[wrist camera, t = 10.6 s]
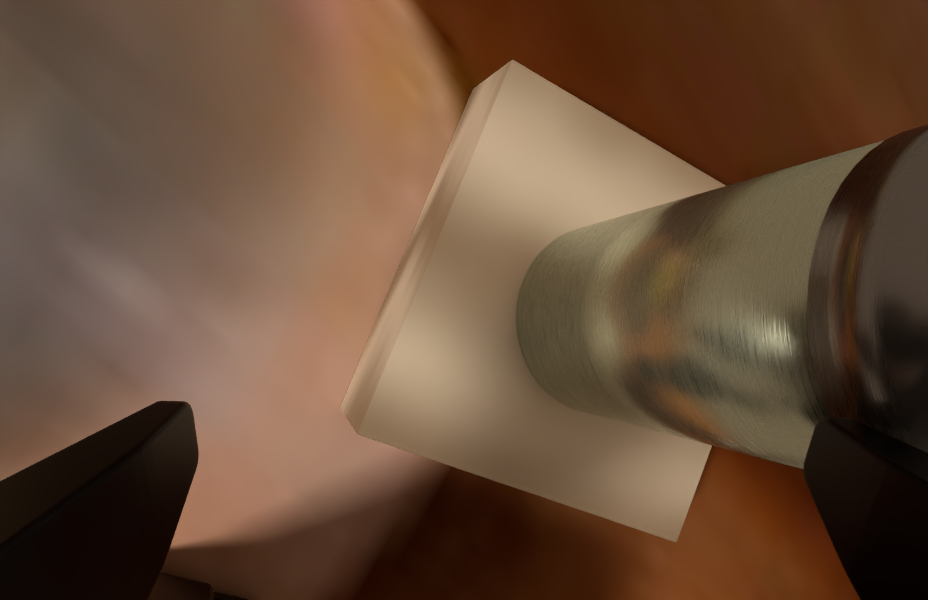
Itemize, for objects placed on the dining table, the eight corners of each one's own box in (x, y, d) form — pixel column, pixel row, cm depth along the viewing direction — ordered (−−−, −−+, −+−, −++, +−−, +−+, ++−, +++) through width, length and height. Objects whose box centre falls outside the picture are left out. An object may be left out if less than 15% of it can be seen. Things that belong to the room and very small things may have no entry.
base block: (620, 506, 26) (676, 542, 22) (340, 408, 22) (357, 434, 19) (724, 230, 27) (793, 225, 23) (472, 89, 23) (512, 59, 19)
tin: (680, 415, 21) (1169, 517, 10) (510, 415, 20) (882, 542, 8) (684, 232, 22) (1164, 133, 10) (517, 215, 20) (886, 69, 8)
